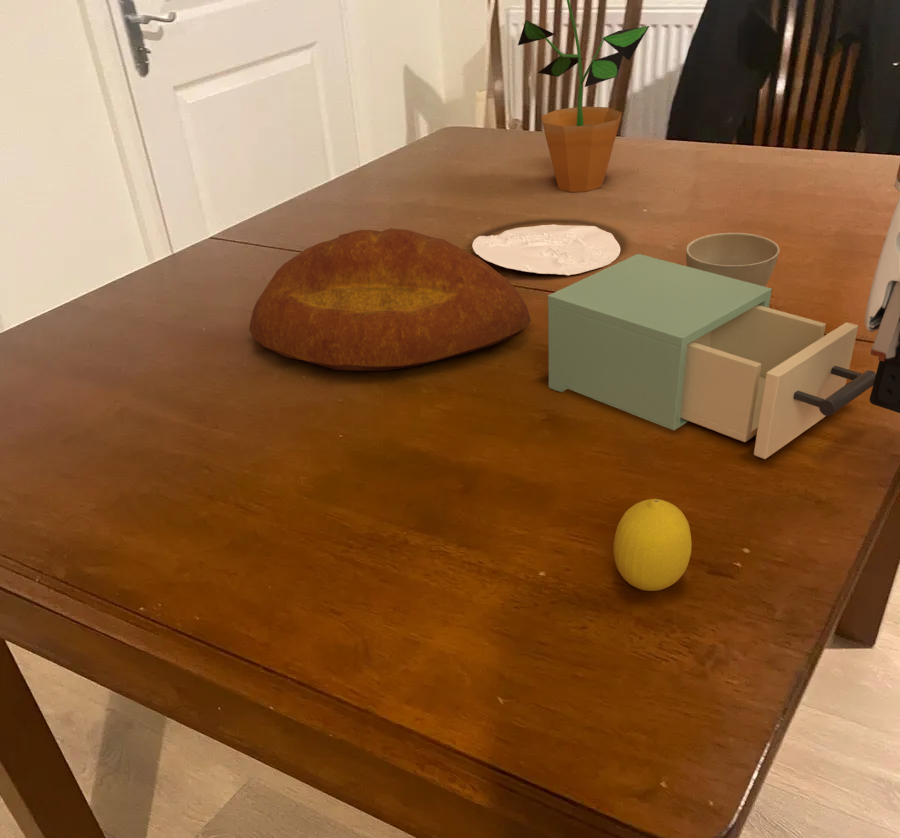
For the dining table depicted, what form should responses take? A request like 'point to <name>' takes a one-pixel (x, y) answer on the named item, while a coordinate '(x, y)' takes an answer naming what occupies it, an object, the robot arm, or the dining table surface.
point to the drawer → (769, 377)
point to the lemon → (652, 545)
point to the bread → (385, 303)
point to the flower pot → (734, 256)
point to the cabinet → (639, 332)
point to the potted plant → (583, 111)
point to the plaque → (549, 249)
